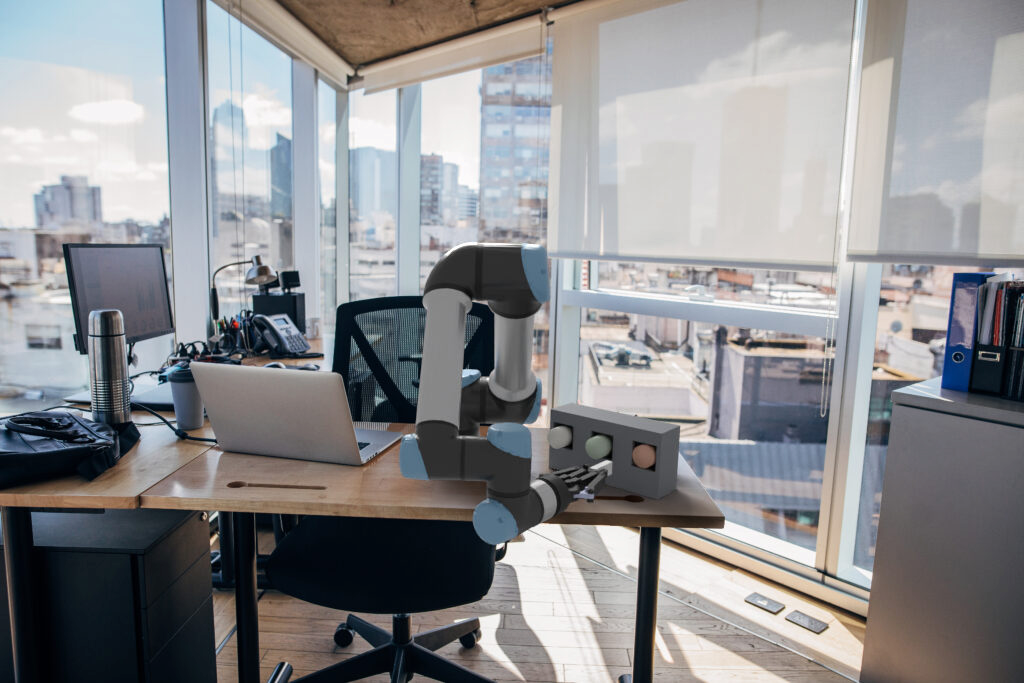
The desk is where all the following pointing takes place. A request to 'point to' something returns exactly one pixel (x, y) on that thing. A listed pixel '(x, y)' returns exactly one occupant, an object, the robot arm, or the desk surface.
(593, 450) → the sage button
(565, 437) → the cream button
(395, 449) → the desk surface
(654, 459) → the terracotta button
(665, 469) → the grey button box
